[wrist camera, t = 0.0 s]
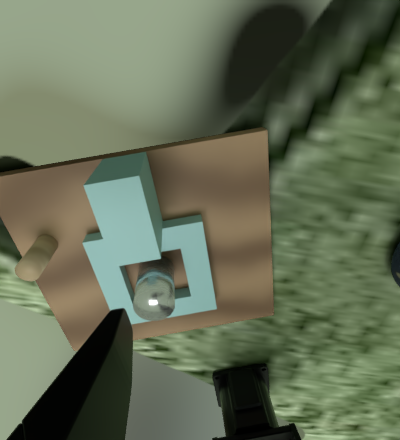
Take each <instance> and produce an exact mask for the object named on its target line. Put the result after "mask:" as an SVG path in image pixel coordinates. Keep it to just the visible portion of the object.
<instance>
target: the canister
mask: <svg viewBox="0 0 400 440" xmlns="http://www.w3.org/2000/svg"><path fill="white" fill-rule="evenodd" d="M391 270H392V275H393V277H394V280H395V281H396V283H397V284H398V285H399V287H400V242H399V244H398V246H397V247H396V249H395V252H394V254H393V257H392V263H391Z"/></svg>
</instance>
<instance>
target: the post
mask: <svg viewBox="0 0 400 440" xmlns="http://www.w3.org/2000/svg"><path fill="white" fill-rule="evenodd" d="M174 308H175V284H174V265H173V263H172V261H171V260H170V259H169V258H167V257H165V256H163V255H161V259H157V260H151V261H145V262H141V263H140V265H139V269H138V275H137V282H136V288H135V295H134V301H133V309H134V312H135V313H136V314H137V315H138V316H139V317H140V318H142V319H145V320H149V321H159V320H162V319H165V318H167V317H168V316H170V315H171V314H172V312H173V311H174Z"/></svg>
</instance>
